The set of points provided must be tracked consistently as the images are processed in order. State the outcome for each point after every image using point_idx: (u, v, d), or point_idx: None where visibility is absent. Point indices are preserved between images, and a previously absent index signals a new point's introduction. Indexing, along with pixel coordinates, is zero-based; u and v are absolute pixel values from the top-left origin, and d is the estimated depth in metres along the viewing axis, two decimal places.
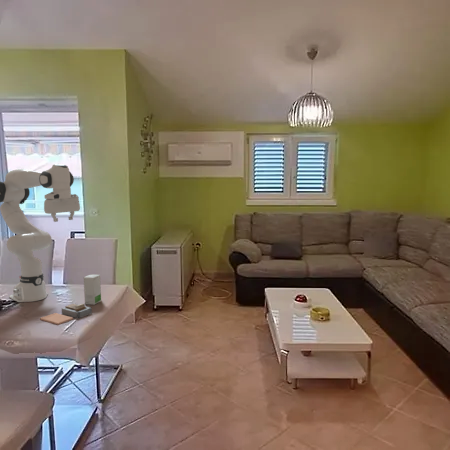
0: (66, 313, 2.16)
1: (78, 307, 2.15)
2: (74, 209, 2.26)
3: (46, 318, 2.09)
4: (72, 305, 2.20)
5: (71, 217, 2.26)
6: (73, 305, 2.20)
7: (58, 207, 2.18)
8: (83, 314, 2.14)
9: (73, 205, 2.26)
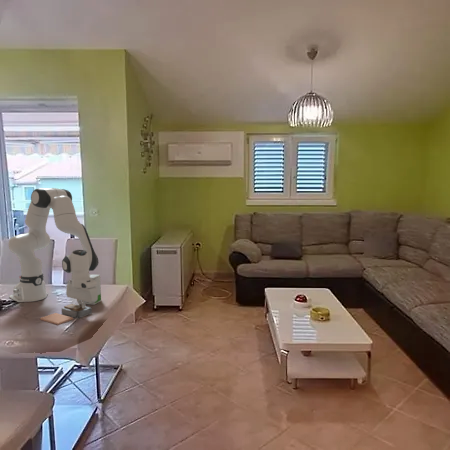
0: (66, 313, 2.16)
1: (77, 307, 2.15)
2: None
3: (46, 318, 2.09)
4: (71, 305, 2.20)
5: None
6: (72, 305, 2.20)
7: None
8: (83, 314, 2.14)
9: None
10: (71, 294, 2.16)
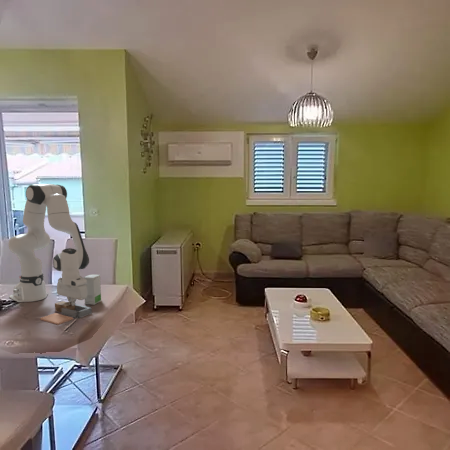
0: (66, 313, 2.16)
1: (67, 304, 2.19)
2: None
3: (46, 318, 2.09)
4: (61, 302, 2.24)
5: None
6: (62, 302, 2.24)
7: None
8: (83, 314, 2.14)
9: None
10: (61, 292, 2.20)
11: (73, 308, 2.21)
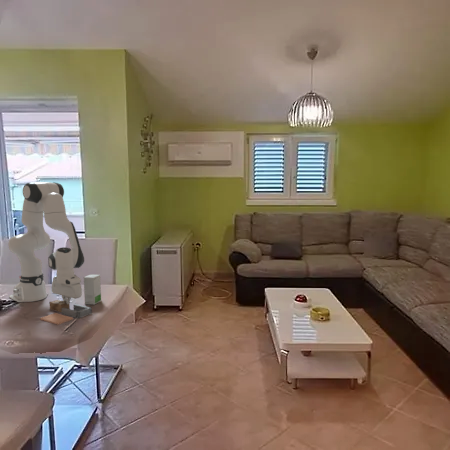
0: (66, 313, 2.16)
1: (61, 303, 2.21)
2: None
3: (46, 318, 2.09)
4: (56, 301, 2.26)
5: None
6: (57, 301, 2.26)
7: None
8: (83, 314, 2.14)
9: None
10: (56, 291, 2.23)
11: (68, 306, 2.24)
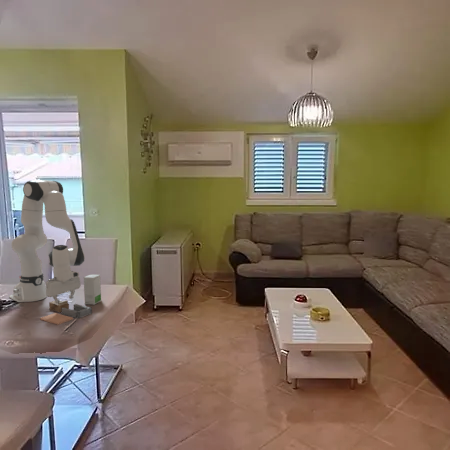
0: (66, 313, 2.16)
1: (61, 304, 2.21)
2: None
3: (46, 318, 2.09)
4: None
5: None
6: None
7: None
8: (83, 314, 2.14)
9: None
10: (57, 292, 2.18)
11: (67, 307, 2.24)
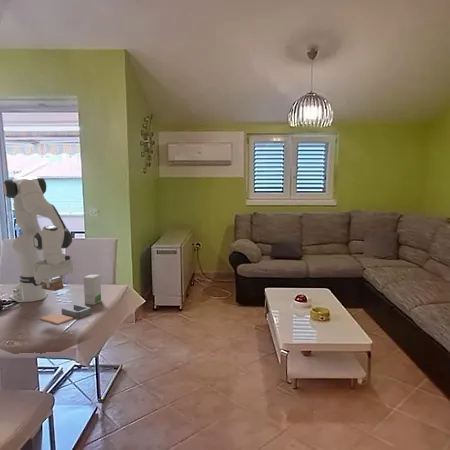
0: (66, 313, 2.16)
1: (54, 281, 2.05)
2: None
3: (46, 318, 2.09)
4: None
5: None
6: (49, 280, 2.10)
7: None
8: (83, 314, 2.14)
9: None
10: (46, 276, 2.01)
11: (61, 285, 2.08)
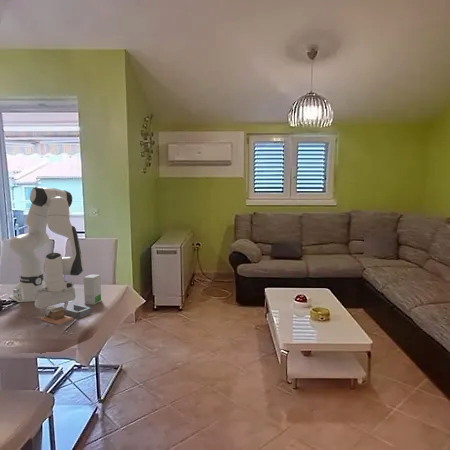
0: (66, 313, 2.16)
1: (55, 310, 2.07)
2: None
3: (46, 318, 2.09)
4: (51, 308, 2.13)
5: None
6: (52, 308, 2.13)
7: None
8: (83, 314, 2.14)
9: None
10: (46, 303, 2.03)
11: (62, 314, 2.09)
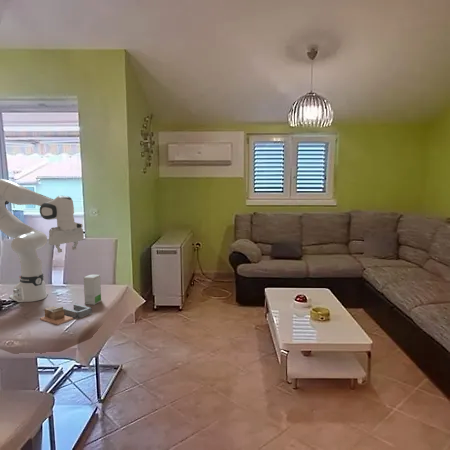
0: (66, 313, 2.16)
1: (55, 310, 2.07)
2: None
3: (46, 318, 2.09)
4: (51, 308, 2.13)
5: None
6: (52, 308, 2.13)
7: None
8: (83, 314, 2.14)
9: None
10: (60, 241, 2.21)
11: (62, 314, 2.09)
